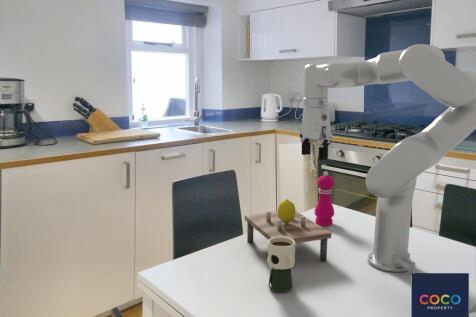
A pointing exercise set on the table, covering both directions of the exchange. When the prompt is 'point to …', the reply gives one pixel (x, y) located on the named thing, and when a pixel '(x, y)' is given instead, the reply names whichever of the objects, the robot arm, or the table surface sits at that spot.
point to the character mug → (281, 262)
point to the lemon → (286, 211)
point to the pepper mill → (324, 201)
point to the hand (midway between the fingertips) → (314, 156)
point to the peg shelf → (288, 229)
